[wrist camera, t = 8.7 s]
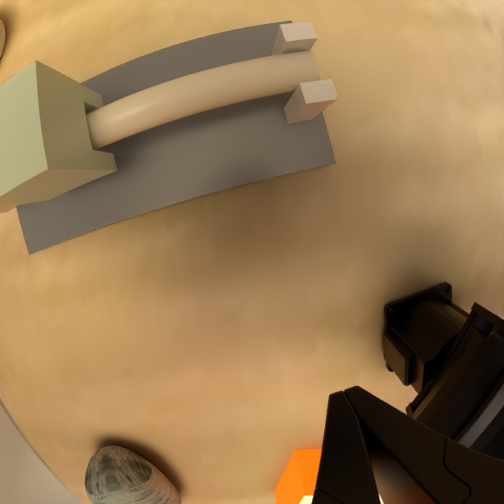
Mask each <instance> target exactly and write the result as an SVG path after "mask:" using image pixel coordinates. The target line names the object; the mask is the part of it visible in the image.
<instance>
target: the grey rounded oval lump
mask: <svg viewBox="0 0 504 504" xmlns="http://www.w3.org/2000/svg"><path fill="white" fill-rule="evenodd" d="M85 487H86V492H87V495H88V497H89V499H90V501H91V503H92V504H181V500H180V497H179V494H178V491H177V490H176V488H175V487H174V485H173V484H172V483H171V482H170V481H169V480H168V479H167V478H166V477H165V475H164V474H163V473H161V472H160V471H159V470H158V469H157V468H156V467H155V466H154V465H152V464H151V463H149V462H148V461H147V460H145V459H144V458H142V457H141V456H139V455H137V454H136V453H134V452H132V451H131V450H129V449H126V448H123V447H120V446H115V445H114V446H106V447H103V448H101V449H99V450H98V451H97V452H96V453H95V454H94V455H93V456H92V458H91V459H90V461H89V464H88V467H87V470H86V474H85Z"/></svg>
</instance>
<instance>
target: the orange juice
mask: <svg viewBox="0 0 504 504" xmlns="http://www.w3.org/2000/svg"><path fill="white" fill-rule="evenodd" d="M321 450H322V449H295V451H294V453H293V455H292V457H291V459H290V461H289V463H288V465H287V467H286V469H285V471H284V473H283V475H282V477H281V479H280V481H279V483H278V485H277V487H276V489H275V496H276V504H311V503H312V498H313V493H314V489H315V484H316V479H317V473H318V468H319V462H320V456H321ZM379 497H380V495H379ZM380 501H381V504H384V503H383V501H382V499H381V497H380Z"/></svg>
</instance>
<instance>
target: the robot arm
mask: <svg viewBox="0 0 504 504" xmlns="http://www.w3.org/2000/svg"><path fill="white" fill-rule="evenodd" d="M446 287H447V289H446ZM445 289H446V290H445ZM391 308H392V310H391V311H390V312H389V310H390V309H391ZM471 309H472V310H471V312H470V314H469V313H467V312H466V311H464V310H463V309H461V308H460V307H458V306H457V305H455V304H454V303H452V286H451V284H449V283H447V282H444V283H442V284H439V285H437V286H434V287H432V288H429V289H427V290H424V291H421V292H419V293H416V294H413V295H411V296H408V297H405V298H402V299H400V300H397V301H394V302H391V303H389V304H387V305H386V306H385V308H384V321H385V331H384V333H383V349H384V359H385V360H386V367H387V369H388V370H389V371H390V372H393V371H394V372H395V374H396V375H397V376H398V378H399V379H400V380H401V382H402V383H403V384H404V385H406V386H408V385H410V384H411V385H412V387H413V388H414V389H415V391H416V392H417V393H418V395H417V396H416V398H415V399H414V400H413V402H412V403H410V404H409V405H408V406H407V407H406V413H407V415H406V414H405V413H403V412H401V411H400V410H398V409H396V408H394V407H393V406H391V405H389V404H388V403H386V402H384V401H383V400H381V399H379V398H377V397H376V396H374V395H372V394H371V393H369V392H368V391H366V390H364V389H363V388H361V387H359V386H354V387H351V388H348V389H345V390H344V392H343V391H338V392H335V393H332V394H330V395H329V399H328V407H327V415H326V423H325V430H324V437H323V443H322V450H321V456H320V462H319V468H318V473H317V479H316V484H315V489H314V493H313V498H312V503H311V504H381V501H380V497H381V499H382V501H383V503H384V504H504V320H503V319H501V318H500V317H498V316H497V315H495V314H493V313H492V312H490V311H489V310H487V309H485V308H484V307H482V306H481V305H479V304H477V303H476V302H474V304H473V306H472V308H471ZM379 495H380V497H379Z"/></svg>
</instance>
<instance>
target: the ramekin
mask: <svg viewBox="0 0 504 504" xmlns="http://www.w3.org/2000/svg"><path fill="white" fill-rule="evenodd" d="M5 38H6V34H5V26H4V23H3V22H2V21H1V19H0V58H1V55H2V52H3V49H4V45H5Z"/></svg>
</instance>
